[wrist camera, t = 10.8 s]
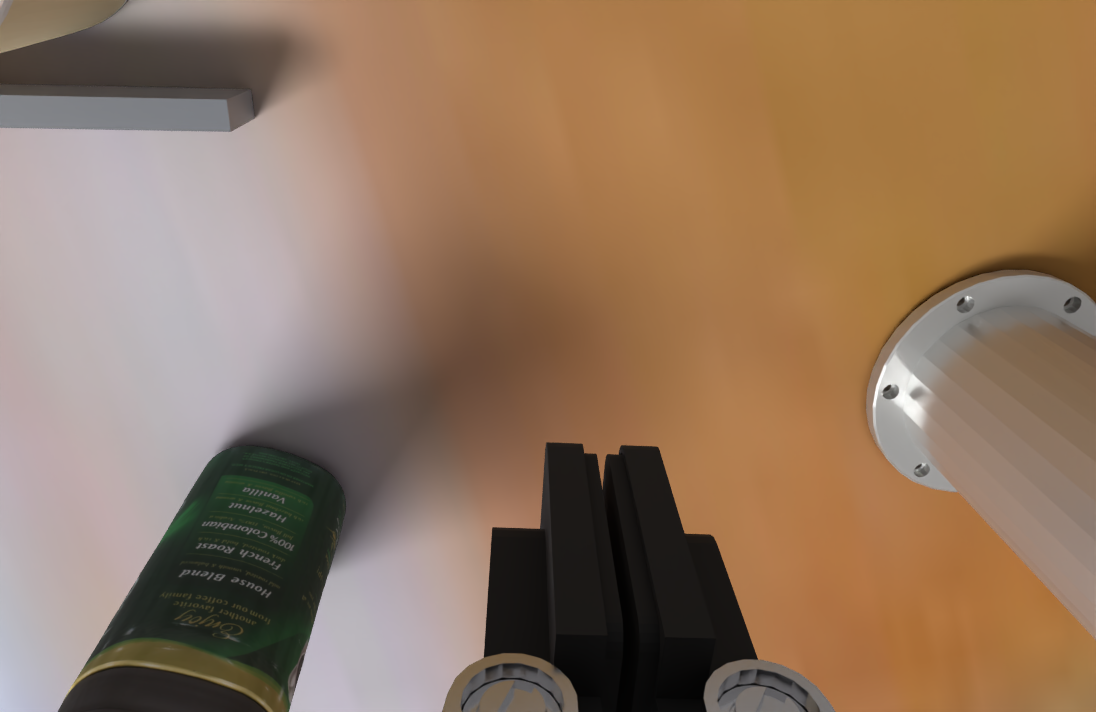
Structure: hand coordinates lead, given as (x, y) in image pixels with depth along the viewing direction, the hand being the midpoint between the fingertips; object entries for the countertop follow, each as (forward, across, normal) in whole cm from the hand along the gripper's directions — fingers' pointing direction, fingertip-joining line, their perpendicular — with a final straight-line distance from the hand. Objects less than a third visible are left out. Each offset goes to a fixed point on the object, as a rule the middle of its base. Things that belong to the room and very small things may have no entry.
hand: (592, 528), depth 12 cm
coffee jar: (+26, +14, +19) cm, 35 cm away
